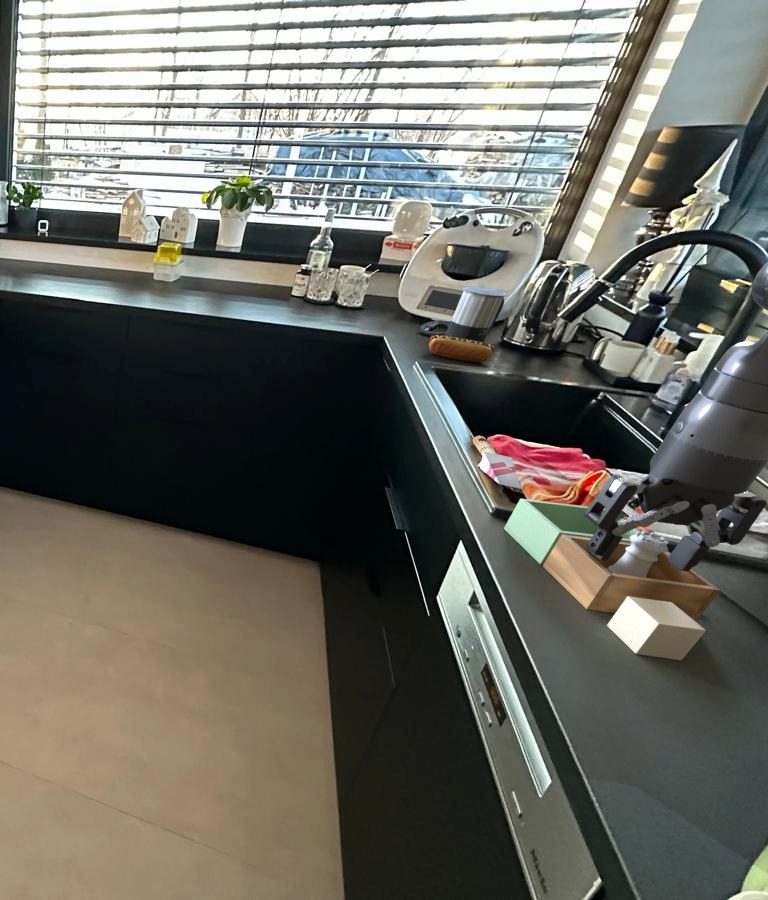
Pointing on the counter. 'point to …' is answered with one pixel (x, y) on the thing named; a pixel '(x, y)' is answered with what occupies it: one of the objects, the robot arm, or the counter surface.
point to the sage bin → (550, 526)
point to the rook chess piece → (640, 555)
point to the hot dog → (460, 348)
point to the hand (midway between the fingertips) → (636, 561)
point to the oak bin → (625, 579)
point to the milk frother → (471, 315)
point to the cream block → (655, 628)
